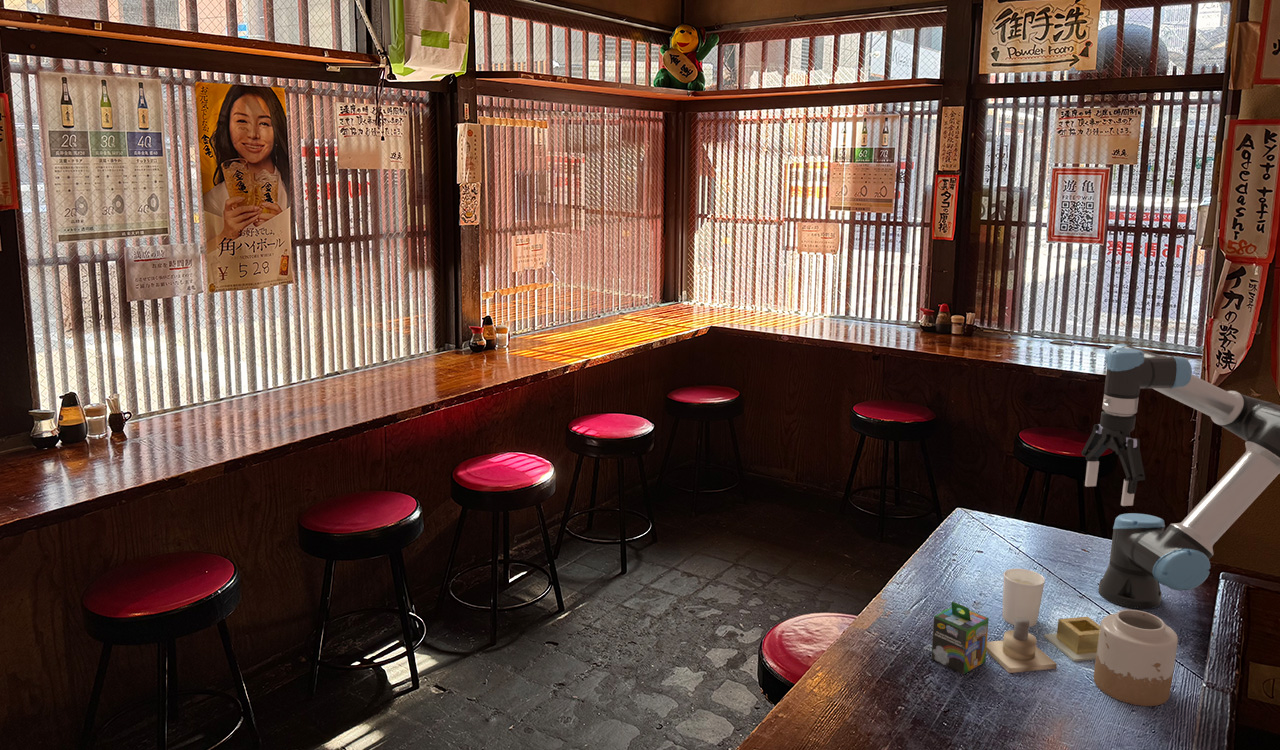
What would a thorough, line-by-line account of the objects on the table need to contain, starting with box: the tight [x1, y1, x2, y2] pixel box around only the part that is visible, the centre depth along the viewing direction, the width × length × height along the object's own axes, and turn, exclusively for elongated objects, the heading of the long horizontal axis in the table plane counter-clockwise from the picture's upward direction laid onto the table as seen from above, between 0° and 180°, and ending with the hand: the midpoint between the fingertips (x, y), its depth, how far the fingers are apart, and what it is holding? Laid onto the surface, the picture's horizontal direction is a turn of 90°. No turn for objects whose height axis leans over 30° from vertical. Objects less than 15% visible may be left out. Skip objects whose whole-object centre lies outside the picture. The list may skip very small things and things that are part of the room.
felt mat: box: [1043, 632, 1097, 663], centre depth 227 cm, size 12×12×1 cm
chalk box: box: [931, 601, 990, 675], centre depth 219 cm, size 9×9×15 cm
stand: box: [986, 618, 1058, 674], centre depth 221 cm, size 12×12×10 cm
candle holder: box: [1002, 568, 1046, 628], centre depth 239 cm, size 10×10×12 cm
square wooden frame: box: [1056, 616, 1100, 654], centre depth 227 cm, size 8×8×5 cm
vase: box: [1093, 609, 1179, 707], centre depth 208 cm, size 15×15×17 cm
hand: (1108, 495), depth 231 cm, fingers open, 13 cm apart
